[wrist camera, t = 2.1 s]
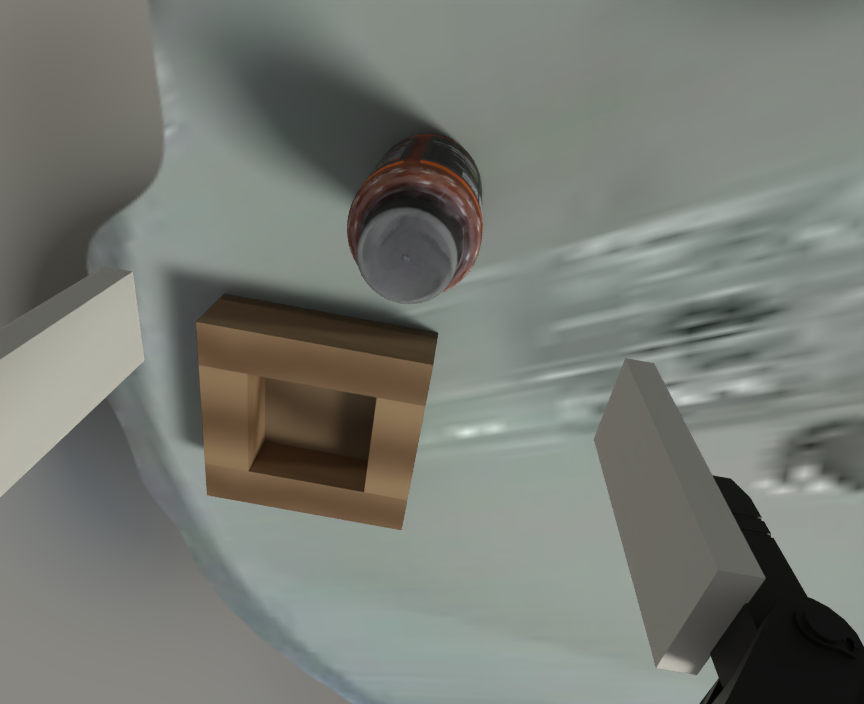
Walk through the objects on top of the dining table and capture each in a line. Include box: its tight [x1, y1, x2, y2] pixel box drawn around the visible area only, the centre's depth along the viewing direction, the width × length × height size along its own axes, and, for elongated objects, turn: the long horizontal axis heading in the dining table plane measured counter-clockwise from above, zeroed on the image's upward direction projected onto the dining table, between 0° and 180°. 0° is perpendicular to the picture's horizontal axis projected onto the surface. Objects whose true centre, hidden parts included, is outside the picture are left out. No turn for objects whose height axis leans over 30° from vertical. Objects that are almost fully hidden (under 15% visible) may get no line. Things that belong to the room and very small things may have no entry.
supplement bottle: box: [347, 134, 483, 304], centre depth 26 cm, size 6×6×11 cm
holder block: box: [196, 294, 438, 530], centre depth 37 cm, size 14×14×4 cm
